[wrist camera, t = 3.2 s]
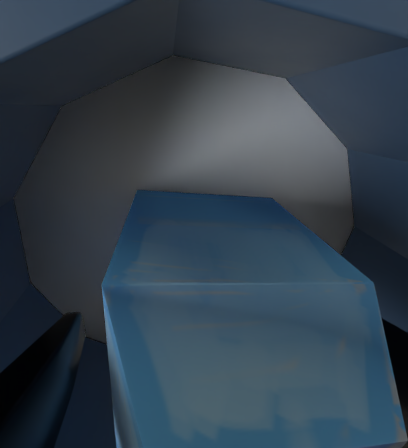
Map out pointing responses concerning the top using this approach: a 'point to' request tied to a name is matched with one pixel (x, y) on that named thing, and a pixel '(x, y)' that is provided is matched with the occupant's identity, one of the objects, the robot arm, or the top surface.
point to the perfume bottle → (242, 332)
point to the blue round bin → (223, 55)
